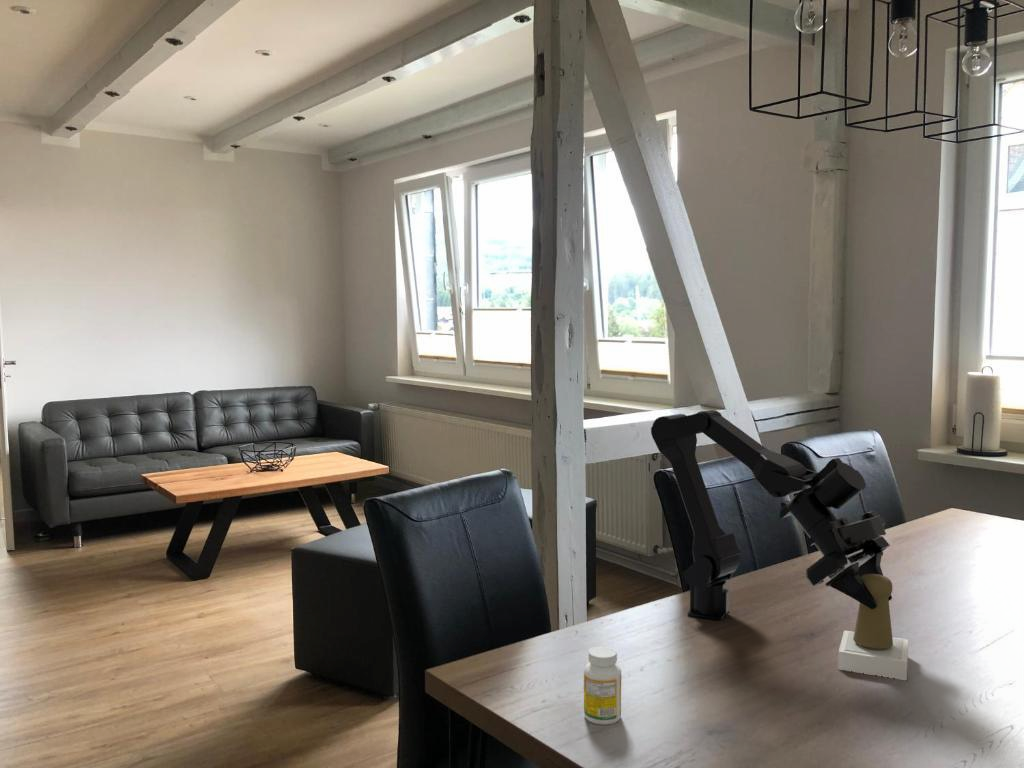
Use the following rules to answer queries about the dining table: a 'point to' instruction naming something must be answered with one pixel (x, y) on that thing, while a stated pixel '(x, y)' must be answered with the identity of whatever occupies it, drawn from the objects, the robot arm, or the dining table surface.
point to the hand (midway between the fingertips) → (882, 604)
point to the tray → (874, 658)
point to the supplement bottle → (602, 687)
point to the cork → (875, 615)
